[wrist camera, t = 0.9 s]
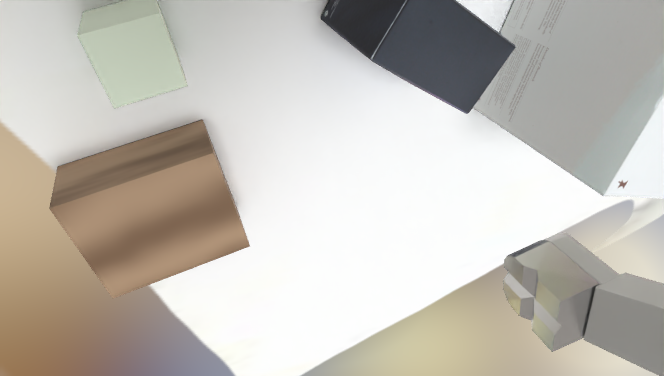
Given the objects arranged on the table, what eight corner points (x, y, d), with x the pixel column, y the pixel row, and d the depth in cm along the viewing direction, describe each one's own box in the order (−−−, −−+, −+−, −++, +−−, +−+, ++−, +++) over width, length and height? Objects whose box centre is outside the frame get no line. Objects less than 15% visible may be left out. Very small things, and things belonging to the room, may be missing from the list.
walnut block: (57, 166, 38) (49, 208, 34) (202, 119, 40) (213, 152, 36) (113, 252, 44) (112, 298, 40) (236, 208, 46) (249, 246, 42)
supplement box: (553, 119, 56) (699, 205, 42) (464, 106, 50) (600, 200, 36) (635, -39, 48) (850, 2, 34) (541, -76, 42) (754, -46, 28)
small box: (315, 22, 39) (366, 63, 31) (355, -54, 37) (421, -32, 29) (405, 73, 45) (468, 119, 37) (445, 10, 43) (521, 43, 35)
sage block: (83, 11, 33) (77, 35, 29) (153, -8, 34) (159, 12, 29) (114, 77, 36) (114, 108, 32) (179, 58, 37) (187, 86, 32)
